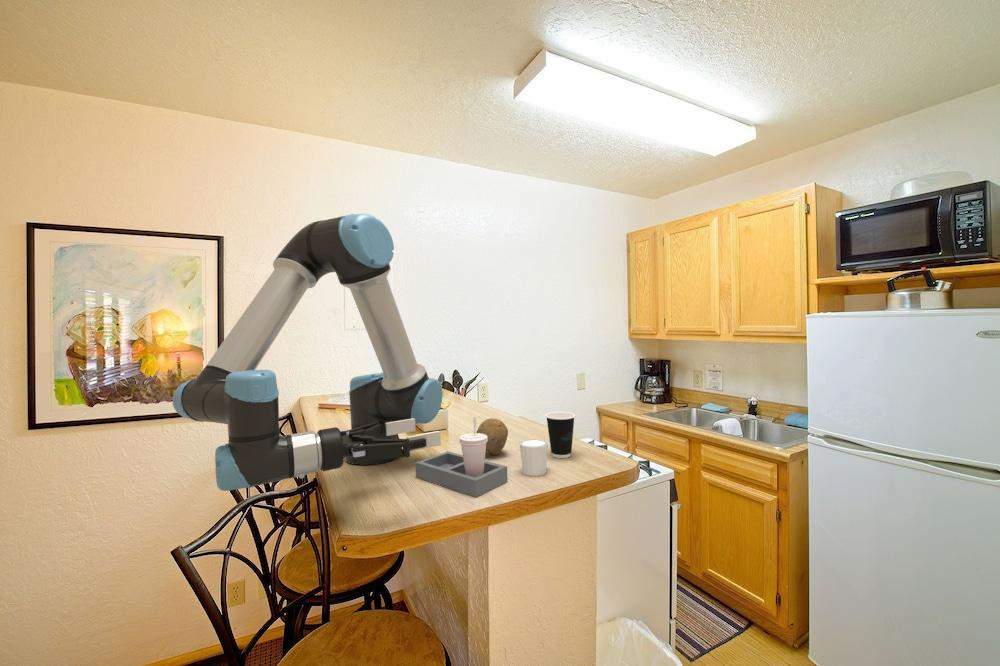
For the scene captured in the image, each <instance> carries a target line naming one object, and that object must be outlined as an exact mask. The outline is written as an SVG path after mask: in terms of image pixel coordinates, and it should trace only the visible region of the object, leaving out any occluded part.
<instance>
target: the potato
mask: <svg viewBox="0 0 1000 666" xmlns="http://www.w3.org/2000/svg"><path fill="white" fill-rule="evenodd" d="M476 433H481V434H485V435H487V437H488V441H487V442H486V452H487V453H488V454H490V455H492V456H496V455H498V454H500V453H501V452H502V450H503V449H504V448H505V446H506V443H507V440H508V436H509V435H508V434H509V430H508V427H507V425H506V424H505V423H504V421H502V420H501V419H498V418H492V417H491V418H487V419H485V420H484V421H482V422H481V423H480V424H479V426H478V428H477V429H476Z"/></svg>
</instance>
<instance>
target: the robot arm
mask: <svg viewBox="0 0 1000 666" xmlns="http://www.w3.org/2000/svg"><path fill="white" fill-rule="evenodd" d="M394 245H395V244H394V240H393V237H392V235H391V233H390V230H389V229H388V228H387V226H386V225H385V224H384V222H383V221H381V219H379V218H376V217H375V216H374V215H371V214H369V213H357V214H355V213H350V214H347V215H342V216H338V217H333V218H329V219H324V220H323V219H322V220H317V221H313V222H311V223H309V224H307V225H305V226H304V227H303V228H301V229H300V230H299V231H298V232H297V233H296V234H294V235H293V236H292V238H291V239H289V241H288V242H287V243H286V245H285V246H283V248H282V249H281V251H280V252H279V253H278V255H277V257H276V258H275V259H274V260H273V262H272V268H273V270H272V272H271V274H270V275H269V277H268V278H267V279H266V281H265V282H264V284H263V285H262V287H261V288H260V289H259V290H258V292H257V294H255V297H254V298H252V300H251V302H250V303H249V304H248V306H247V307H246V309H245V310H244V312H243V313H242V315H240V317H239V319H238V320H237V321H236V323H235V325H234V326H233V327H232V329H231V330H230V332H229V333H228V334H227V336H226V337H225V338H224V340H223V341H222V343H221V344H220V345H219V347H217V349H216V350H215V352H214V354H213V355H212V357H211V358H210V359H209V361H208V362H207V364H206V365H205V367H204V368H203V369H202V371H201V372H200V373H199V375H198V376H197V377H196V378H194V379H189V380H187V381H184V382H183V383H181V384H180V385H179V386H178V387H177V388H176V390H175V391H174V392H173V396H172V406H173V408H174V410H175V412H176V413H177V414H178V415H180V416H181V417H182V418H186V419H189V420H192V421H194V422H199V423H200V422H205V423H207V422H208V423H216V424H224V425H227V432H228V433H227V434H228V443H225V444H224V445H220V446H218V447H216V449H215V451H214V452H215V454H214V457H215V458H214V462H215V469H214V470H215V481H216V486H217V488H218V489H219V490H221V492H222V491H223V492H229V491H234V490H240V489H247V488H250V489H251V488H253V487H256V486H261V485H266V484H270V483H275V482H279V481H284V480H287V479H288V480H289V479H293V478H297V477H298V479H304V478H305V476H306V475H307V476H308V475H311V474H315V473H318V471H319V469H320V471H322V472H327V471H331V470H336V469H341V468H342V466H343V465H344V459H346V460H347V461H348V462H350V463H353V464H352V465H355V464H360V465H359V466H368V465H367V464H372V465H379V463H380V464H383V462H385V463H387V462H390V461H391V460H392V461H394V460H396V459H399V458H410V457H411V452H416V451H421V450H424V449H425V450H426V449H430V448H434V447H439V446H441V444H442V442H441V441H442V440H441V431H439V430H436V431H432V432H427V433H420V434H413V435H409V436H406V438H400V437H399V435H400V434H404V433H405V434H406V433H410V432H416V425H418V424H422V425H424V424H429V423H431V422H432V421H434V419H435V418H436V417H437V416H438V415H439V412H440V410H441V407H442V403H443V396H444V395H443V387H442V384H441V382H440V381H439V380H438V379H435V378H433V377H432V378H431V377H430V378H429V375H428V372H427V369H426V367H425V366H424V365H422V364H421V363H418V361H417V359H416V356H415V354H414V350H413V347H412V345H411V342H410V339H409V337H408V334H407V330H406V328H405V326H404V323H403V320H402V316H401V314H400V312H399V309H398V305H397V302H396V300H395V297H394V295H393V294H394V293H393V291H392V288H391V285H390V283H389V280H388V275H389V273H390V272H391V266H390V263H391V262H392V260H393V257H394V252H393V251H394V249H395V247H394ZM330 273H335V275H336V276H337V280H338V282H339V284H340V285H342V286H343V287H345V288H347V289H349V290H350V292H351V296H352V298H353V300H354V303H355V305H356V308H357V310H358V312H359V315H360V318H361V320H362V322H363V326H364V328H365V330H366V332H367V336H368V338H369V340H370V343H371V344H372V348H373V350H374V352H375V355H376V358H377V361H378V362H379V364H380V367H381V370H382V372H377V373H376V372H375V373H370V374H364V375H363V374H362V375H359V376H358V375H357V376H353V377H352V378H351V379H350V382H349V391H348V394H349V407H350V410H349V411H350V426H351V427H350V429H348V430H340V428H338V427H336V426H335V427H329V428H324V429H322V428H321V429H319V430H318V431H317V432H315V431H314V430H309V431H304V432H303V431H302V432H297V433H292V434H286V435H280V433H281V432H280V431H281V429H280V410H279V395H280V392H279V389H278V382H277V375H276V373H275V371H272V370H270V369H257V368H258V366H259V365H260V363H261V361H262V360H263V359H264V357H265V355H266V354H267V352H268V351H269V349H270V348H271V346H272V344H273V343H274V341H275V340H276V338H277V337H278V335H279V334H280V332H281V331H282V329H283V327H284V326H285V324H286V322H287V321H288V320H289V318H290V316H291V315H292V313H293V312H294V310H295V309H296V307H297V305H298V304H299V302H300V301H301V299H302V298H303V296H305V295H304V294H305V293H306V292H307V289H312V288H314V287H316V285H317V283H318V282H319V281H320V279H322V277H324V276H326V275H328V274H330ZM346 460H345V461H346ZM348 462H347V463H348ZM350 463H349V464H350Z"/></svg>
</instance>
